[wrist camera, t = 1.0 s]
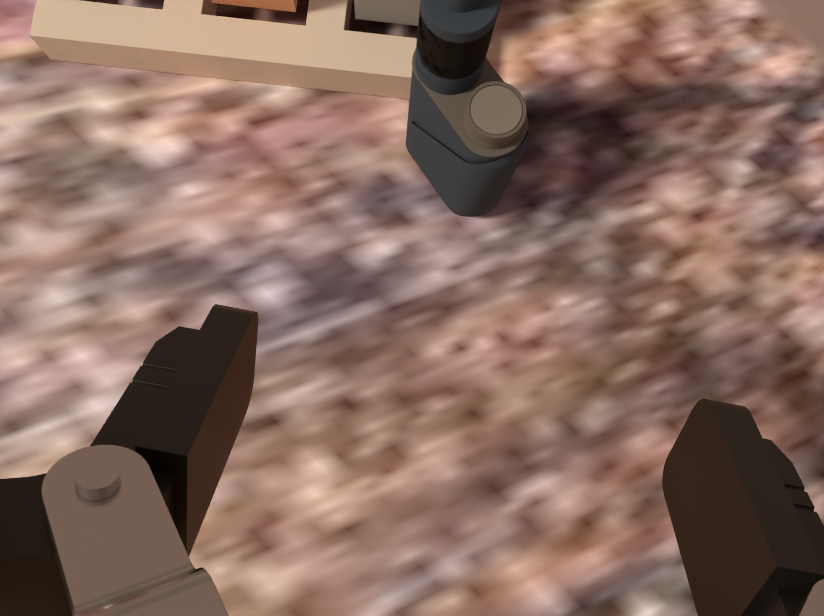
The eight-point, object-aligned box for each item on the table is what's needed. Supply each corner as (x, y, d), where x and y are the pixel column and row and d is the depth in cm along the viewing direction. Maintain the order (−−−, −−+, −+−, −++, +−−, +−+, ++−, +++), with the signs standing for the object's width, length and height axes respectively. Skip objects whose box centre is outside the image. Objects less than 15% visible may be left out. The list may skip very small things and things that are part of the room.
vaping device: (441, 106, 32) (476, -80, 21) (509, 200, 32) (586, 65, 20) (393, 136, 32) (400, -35, 20) (461, 232, 31) (510, 114, 20)
